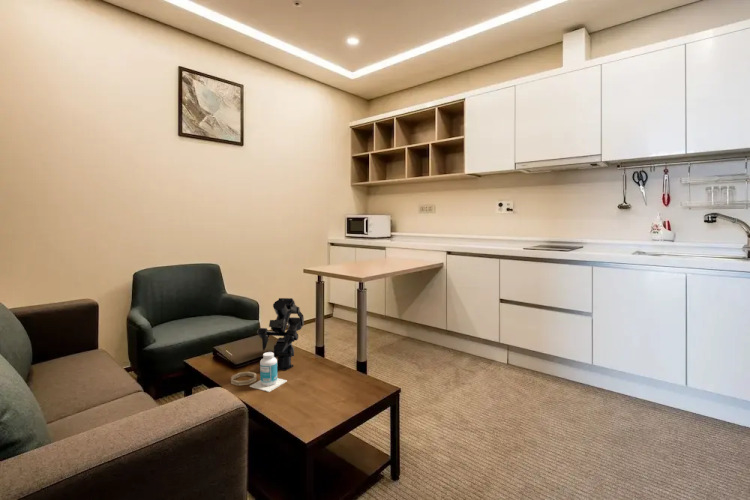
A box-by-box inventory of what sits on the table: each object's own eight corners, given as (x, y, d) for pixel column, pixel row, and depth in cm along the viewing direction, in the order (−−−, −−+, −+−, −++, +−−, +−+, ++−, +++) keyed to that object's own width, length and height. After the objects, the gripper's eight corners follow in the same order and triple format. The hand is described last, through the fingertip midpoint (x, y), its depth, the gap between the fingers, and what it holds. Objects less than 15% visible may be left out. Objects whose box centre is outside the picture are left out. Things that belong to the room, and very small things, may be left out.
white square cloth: (268, 376, 175) (268, 375, 175) (287, 381, 170) (287, 380, 170) (249, 386, 164) (249, 385, 164) (269, 392, 159) (268, 391, 159)
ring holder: (244, 373, 178) (244, 370, 178) (261, 377, 174) (261, 374, 173) (225, 382, 168) (225, 378, 168) (243, 387, 164) (243, 383, 164)
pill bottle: (274, 378, 172) (274, 349, 171) (279, 384, 166) (279, 354, 165) (258, 381, 169) (258, 352, 167) (262, 388, 162) (262, 358, 161)
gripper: (258, 311, 176) (247, 341, 166) (296, 313, 173) (287, 344, 163) (265, 323, 184) (255, 352, 174) (301, 325, 182) (294, 355, 172)
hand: (272, 350), depth 171 cm, fingers open, 9 cm apart
